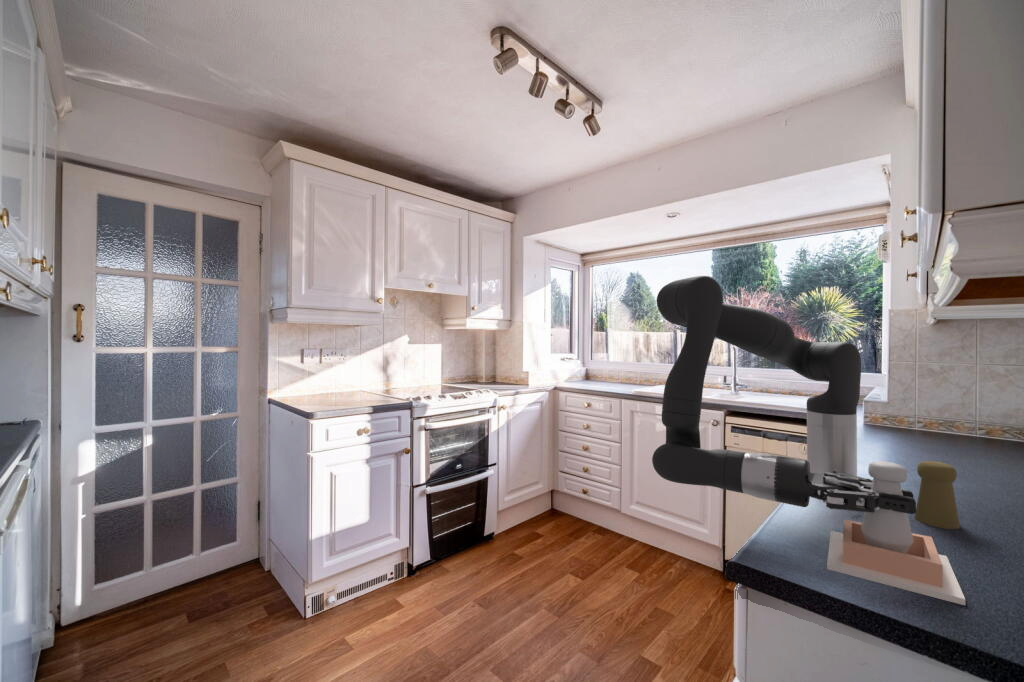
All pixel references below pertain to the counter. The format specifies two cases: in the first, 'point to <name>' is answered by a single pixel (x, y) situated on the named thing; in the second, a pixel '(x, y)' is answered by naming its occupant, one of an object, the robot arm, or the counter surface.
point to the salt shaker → (887, 511)
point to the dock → (894, 564)
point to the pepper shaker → (937, 495)
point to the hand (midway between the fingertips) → (913, 502)
